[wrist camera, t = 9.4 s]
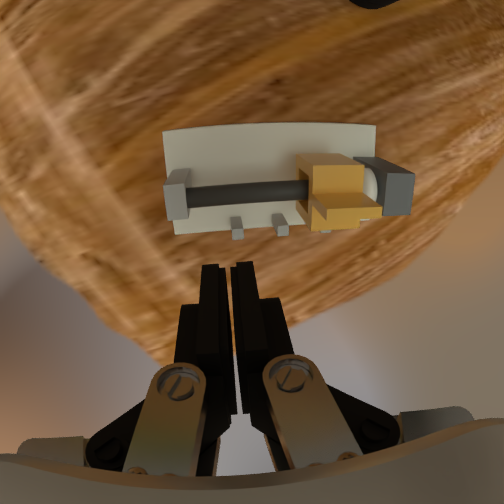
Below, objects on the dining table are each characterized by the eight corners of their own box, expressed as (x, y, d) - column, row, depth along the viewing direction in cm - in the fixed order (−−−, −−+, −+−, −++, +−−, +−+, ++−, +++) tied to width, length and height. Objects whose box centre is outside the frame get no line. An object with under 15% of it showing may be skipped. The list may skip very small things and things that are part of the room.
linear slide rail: (373, 124, 28) (418, 135, 21) (367, 215, 32) (404, 248, 25) (164, 130, 26) (145, 140, 19) (176, 229, 31) (165, 270, 24)
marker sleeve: (339, 153, 25) (385, 176, 18) (337, 206, 28) (377, 245, 21) (295, 153, 25) (328, 176, 18) (295, 209, 27) (324, 250, 20)
